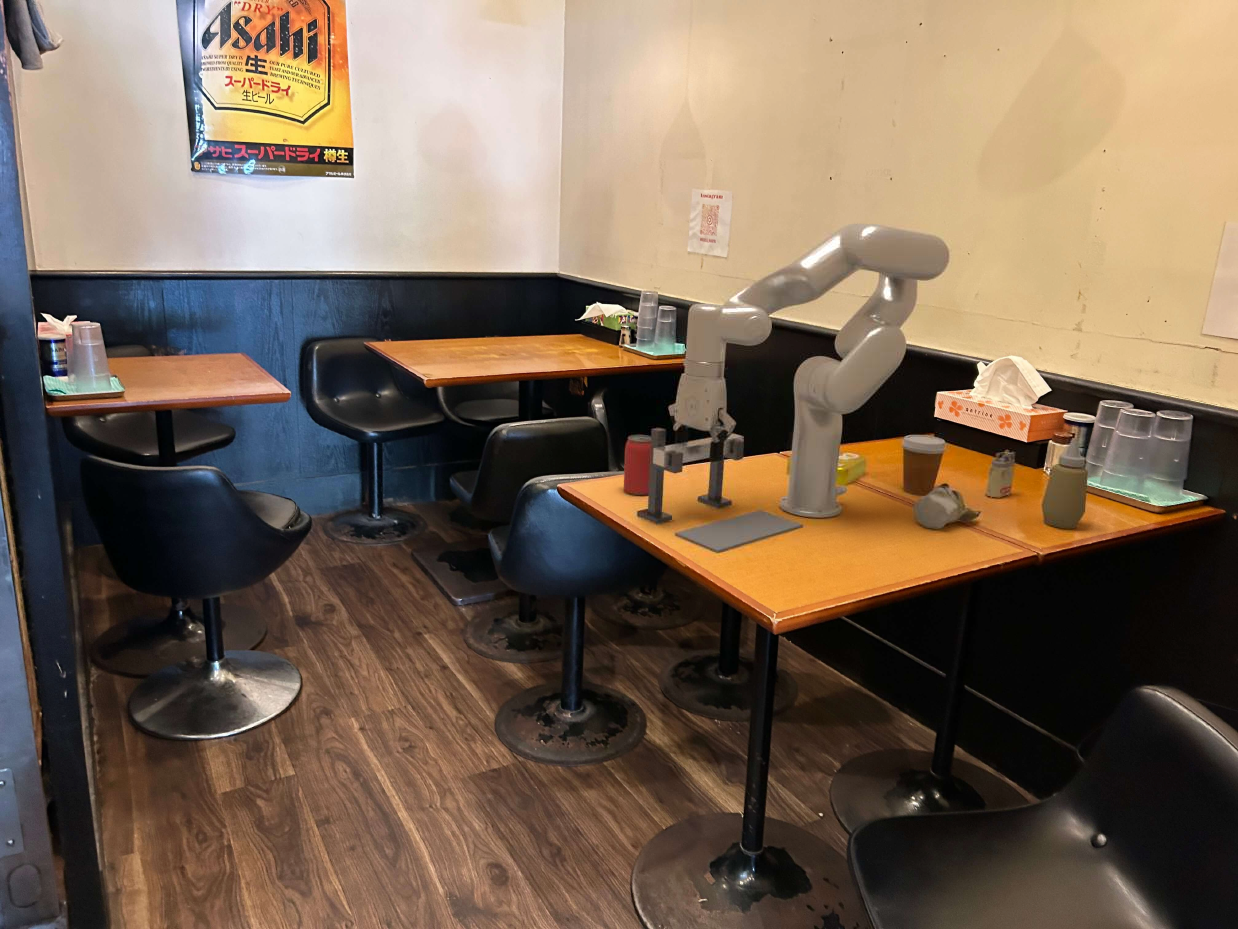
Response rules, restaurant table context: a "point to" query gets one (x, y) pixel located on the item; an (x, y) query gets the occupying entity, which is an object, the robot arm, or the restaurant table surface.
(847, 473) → the element tile
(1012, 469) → the lighter
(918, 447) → the disposable coffee cup
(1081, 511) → the squeeze bottle
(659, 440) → the hook stand
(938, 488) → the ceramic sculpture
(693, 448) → the rail
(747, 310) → the robot arm
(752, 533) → the mat
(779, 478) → the restaurant table surface
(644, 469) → the beer can
